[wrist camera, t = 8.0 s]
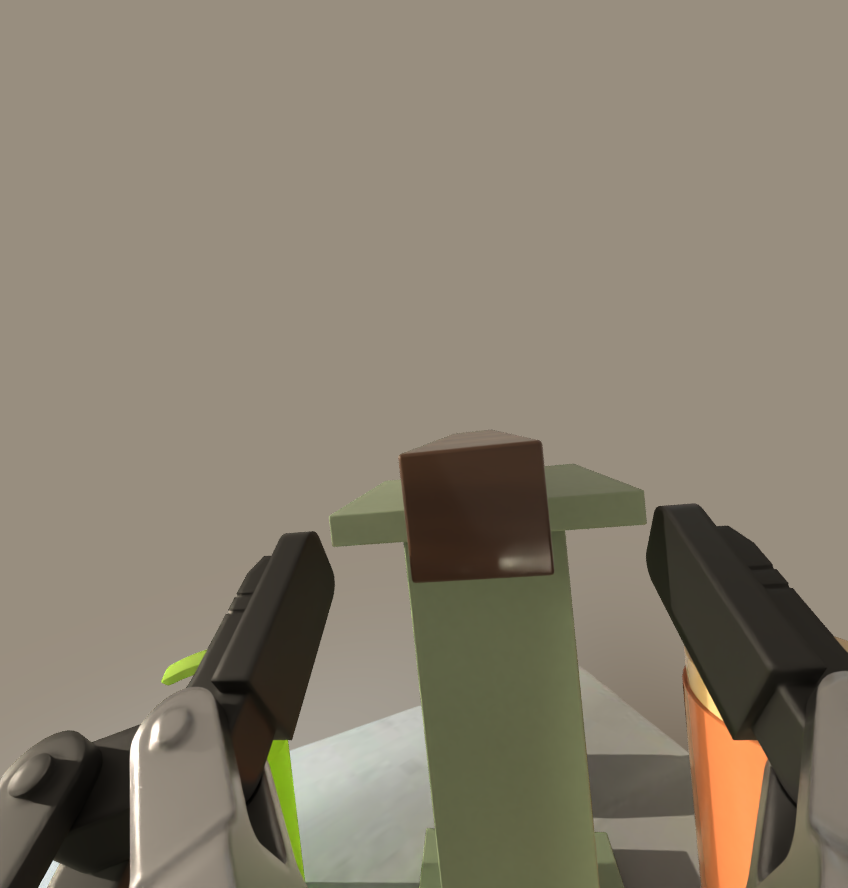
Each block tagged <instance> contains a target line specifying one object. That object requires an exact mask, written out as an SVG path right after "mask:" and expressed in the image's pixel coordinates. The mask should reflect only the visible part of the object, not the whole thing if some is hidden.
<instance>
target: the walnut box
mask: <svg viewBox="0 0 848 888" xmlns="http://www.w3.org/2000/svg"><path fill="white" fill-rule="evenodd" d="M398 459H399V468H400V478H401V487H402V496H403V505H404V514H405V523H406V533H407V542H408V551H409V560H410V569H411V578H412V581H413V583H427V582H444V581H462V580H479V579H496V578H514V577H531V576H548V575H553V574H554V571H555V570H554V560H553V550H552V539H551V529H550V519H549V509H548V499H547V488H546V478H545V468H544V458H543V447H542V443H541V441H539V440H535V439H531V438H526V437H522V436H517V435H512V434H508V433H504V432H499V431H495V430H484V431H475V432H466V433H456V434H452V435H450V436H447V437H444V438H442V439H439V440H437V441H434V442H432V443H429V444H426V445H423V446H421V447H418V448H415V449H413V450H410V451H408V452H405V453H402V454H400V455H399V458H398Z"/></svg>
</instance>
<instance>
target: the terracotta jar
mask: <svg viewBox="0 0 848 888" xmlns="http://www.w3.org/2000/svg"><path fill="white" fill-rule="evenodd" d="M835 638H836V640H837V641H838V642H839V643H840V644H841V645H842V647H843V648H844V649H845V650H846V651H847V652H848V641H846V640H843V639H841V638H837V637H835ZM684 653H685V663H686V665H685V667H684V669H683V674H682V678H683V689H684V702H685V713H686V724H687V736H688V747H689V758H690V770H691V781H692V792H693V804H694V815H695V826H696V837H697V849H698V860H699V871H700V883H701V888H746V884H747V880H748V875H749V869H750V862H751V856H752V849H753V842H754V835H755V828H756V821H757V815H758V808H759V801H760V794H761V787H762V780H763V773H764V767H765V763H766V761H767V759H768V758H767V757H766V755H765V753H764V751H763V749H762V748H761V746H760V744H759V742H758V740H733V739H732V737H731V735H730V733H729V731H728V729H727V727H726V725H725V724H724V722H723V720H722V718H721V716H720V714H719V712H718V710H717V708H716V706H715V704H714V702H713V700H712V698H711V696H710V694H709V692H708V690H707V688H706V686H705V684H704V682H703V680H702V678H701V677H700V675H699V673H698V671H697V669H696V667H695V665H694V663H693V661H692V659H691V657H690V655H689V653H688V651H687V649H686V647H685V645H684Z"/></svg>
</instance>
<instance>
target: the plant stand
mask: <svg viewBox="0 0 848 888" xmlns="http://www.w3.org/2000/svg"><path fill="white" fill-rule="evenodd" d="M544 468H545V478H546V488H547V499H548V509H549V519H550V529H551V539H552V550H553V560H554V570H555V571H554V574H553V575H548V576H531V577H514V578H496V579H479V580H462V581H444V582H427V583H413V581H412V578H411V569H410V560H409V551H408V542H407V533H406V523H405V514H404V505H403V496H402V487H401V480H392V481H385V482H383V483H382V484H380V485H378V486H377V487H376V488H374V489H372V490H370V491H369V492H367V493H366V494H364V495H362V496H361V497H359V498H357V499H356V500H354V501H353V502H351V503H350V504H348V505H346V506H345V507H343V508H341V509H340V510H338V511H336V512H335V513H333V514H332V515H330V516H329V522H330V531H331V540H332V546H333V547H338V546H352V545H366V544H380V543H394V542H404V551H405V560H406V570H407V578H408V588H409V597H410V605H411V615H412V624H413V633H414V643H415V652H416V661H417V670H418V679H419V688H420V697H421V707H422V716H423V725H424V734H425V743H426V752H427V761H428V770H429V780H430V789H431V798H432V807H433V816H434V825H435V829H433V828H427V829H426V835H425V843H424V852H423V860H422V868H421V877H420V885H419V888H624V885H623V881H622V878H621V875H620V872H619V869H618V866H617V863H616V860H615V857H614V854H613V851H612V848H611V844H610V841H609V838H608V835H607V833H606V832H594V825H593V815H592V804H591V794H590V784H589V773H588V763H587V753H586V742H585V732H584V722H583V711H582V701H581V691H580V680H579V670H578V660H577V649H576V639H575V629H574V618H573V608H572V597H571V587H570V577H569V566H568V556H567V546H566V536H565V530H575V529H589V528H604V527H618V526H632V525H645V524H646V523H647V522H646V521H647V520H646V510H645V498H644V491H643V490H641V489H639V488H636V487H633V486H631V485H628V484H626V483H623V482H620V481H618V480H615V479H612V478H610V477H607V476H605V475H602V474H599V473H597V472H594V471H591V470H589V469H586V468H583V467H581V466H578V465H576V464H566V465H555V466H544Z"/></svg>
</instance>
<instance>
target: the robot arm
mask: <svg viewBox="0 0 848 888" xmlns="http://www.w3.org/2000/svg"><path fill="white" fill-rule="evenodd" d="M646 561H647V568H648V572H649V575H650V577H651V580H652V582H653V584H654V586H655V588H656V590H657V592H658V594H659V596H660V598H661V600H662V602H663V604H664V606H665V608H666V610H667V612H668V614H669V616H670V618H671V620H672V621H673V624H674V626H675V628H676V629H677V631H678V633H679V635H680V637H681V639H682V641H683V643H684V645H685V647H686V649H687V651H688V653H689V655H690V657H691V659H692V661H693V663H694V665H695V667H696V669H697V671H698V673H699V675H700V677H701V678H702V680H703V682H704V684H705V686H706V688H707V690H708V692H709V694H710V696H711V698H712V700H713V702H714V704H715V706H716V708H717V710H718V712H719V714H720V716H721V718H722V720H723V722H724V724H725V725H726V727H727V729H728V731H729V733H730V735H731V737H732V739H733V740H758V742H759V744H760V746H761V748H762V749H763V751H764V753H765V755H766V757H767V758H768V759H767V761H766V763H765V767H764V773H763V780H762V787H761V794H760V801H759V808H758V815H757V821H756V828H755V835H754V842H753V849H752V856H751V862H750V869H749V875H748V880H747V884H746V888H848V652H847V651H846V650H845V649H844V648H843V647H842V645H841V644H840V643H839V642H838V641H837V640H836V638H835V637H834V636H833V635H832V634H831V632H830V631H829V630H828V629H827V628H826V627H825V625H823V623H822V622H821V621H820V620H819V618H818V617H817V616H816V615H815V614H814V613H813V611H811V609H810V608H809V607H808V606H807V604H806V603H805V602H804V601H803V600H802V599H801V597H800V596H799V595H798V594H797V593H796V591H795V590H794V589H793V588H789V586H788V582H787V581H786V580H785V579H784V577H783V576H782V575H781V574H780V573H779V572H778V570H777V569H774V568H773V565H772V563H771V562H770V561H769V560H768V559H767V557H766V556H765V555H764V554H763V553H762V552H761V551H760V549H759V548H758V547H757V546H756V545H755V544H754V543H753V542H752V541H750V540H749V539H747V538H746V537H744V536H743V535H741V534H740V533H738V532H737V531H735V530H734V529H732V528H731V527H729V526H716V525H715V524H714V523H713V521H712V520H711V519H710V517H709V516H708V515H707V514H706V512H705V511H704V510H703V509H702V508H701V507H700V506H699V505H697V504H682V505H668V506H658V507H657V508H656V509H655V512H654V516H653V521H652V526H651V531H650V536H649V541H648V547H647V552H646ZM334 587H335V581H334V574H333V571H332V568H331V566H330V563H329V561H328V558H327V556H326V553H325V551H324V548H323V546H322V543H321V541H320V538H319V536H318V535H317V533H316V532H313V531H312V532H298V533H286V534H284V535H282V536H281V538H280V539H279V541H278V544H277V546H276V548H275V550H274V552H273V554H272V556H264V557H263V558H262V559H261V560H260V561H259V562H258V563H257V564H256V565H255V566H254V567H253V568H252V569H251V570H250V571H249V572H248V573H247V575H246V577H245V579H244V581H243V583H242V585H241V586H240V588H239V590H238V592H237V597H235V598H234V600H233V602H232V604H231V605H230V608H229V609H228V611H229V612H228V614H226V615H225V617H224V619H223V621H222V623H221V625H220V626H219V628H218V630H217V632H216V634H215V636H214V638H213V640H212V641H211V644H210V645H209V647H208V649H207V651H206V653H205V655H204V657H203V659H202V660H201V662H200V664H199V666H198V668H197V670H196V672H195V674H194V676H193V678H192V679H191V681H190V683H189V684H188V686H187V687H186V688H185V689H182V690H180V691H178V692H176V693H174V694H172V695H170V696H169V697H168V698H166V699H164V700H163V701H162V702H161V703H160V704H158V705H157V706H156V707H155V708H154V709H153V711H151V712H150V714H149V715H148V716H147V717H146V718H145V720H144V721H143V723H142V724H140V725H137V726H135V727H132V728H129V729H126V730H124V731H121V732H118V733H116V734H113V735H111V736H108V737H105V738H102V739H99V740H97V741H94V742H90V741H89V740H88V739H86V738H85V737H84V736H82V735H81V734H80V733H78V732H75V731H63V732H60V733H56V734H53V735H51V736H49V737H47V738H45V739H44V740H42V741H40V742H39V743H37V744H36V745H34V746H33V747H32V748H30V749H29V750H28V751H26V753H24V754H23V755H22V756H21V757H20V758H19V759H18V760H16V761H15V762H14V763H13V764H12V766H11V767H10V768H9V769H8V770H7V771H6V772H5V774H4V775H3V776H2V777H1V779H0V888H38V887H39V885H40V883H41V881H42V879H43V878H44V876H45V874H46V872H47V870H48V868H49V867H50V865H51V863H52V861H53V860H54V861H56V862H58V863H60V864H59V866H58V868H57V870H56V872H55V874H54V875H53V877H52V879H51V881H50V883H49V885H48V886H47V888H308V887H307V885H306V883H305V881H304V879H303V877H302V875H301V873H300V871H299V868H298V866H297V863H296V860H295V857H294V853H293V849H292V846H291V842H290V838H289V835H288V831H287V827H286V824H285V820H284V816H283V813H282V809H281V805H280V802H279V798H278V795H277V791H276V787H275V784H274V780H273V776H272V773H271V769H270V765H269V763H268V760H267V757H268V754H269V751H270V748H271V745H272V742H273V740H292V738H293V734H294V731H295V728H296V724H297V721H298V717H299V714H300V710H301V707H302V703H303V700H304V696H305V693H306V689H307V686H308V683H309V679H310V676H311V672H312V669H313V665H314V662H315V658H316V654H317V651H318V648H319V644H320V640H321V637H322V634H323V630H324V627H325V623H326V620H327V616H328V613H329V609H330V606H331V602H332V599H333V595H334Z"/></svg>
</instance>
